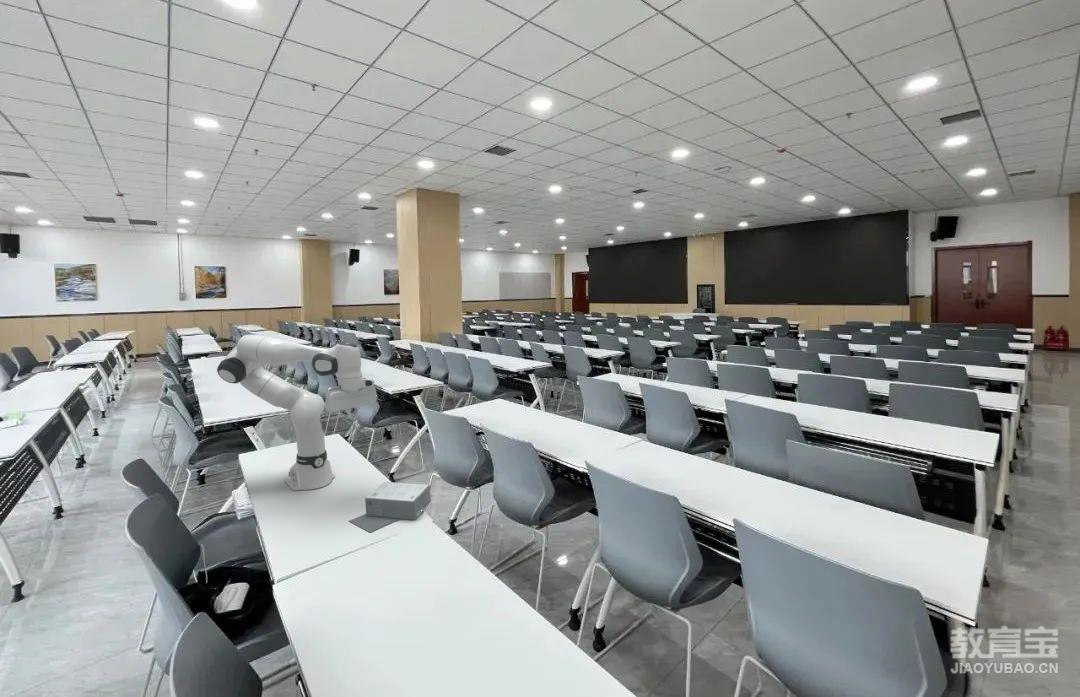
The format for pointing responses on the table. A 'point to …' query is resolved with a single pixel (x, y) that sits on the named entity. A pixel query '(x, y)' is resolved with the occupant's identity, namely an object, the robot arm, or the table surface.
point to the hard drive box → (398, 500)
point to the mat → (372, 522)
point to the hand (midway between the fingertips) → (353, 418)
